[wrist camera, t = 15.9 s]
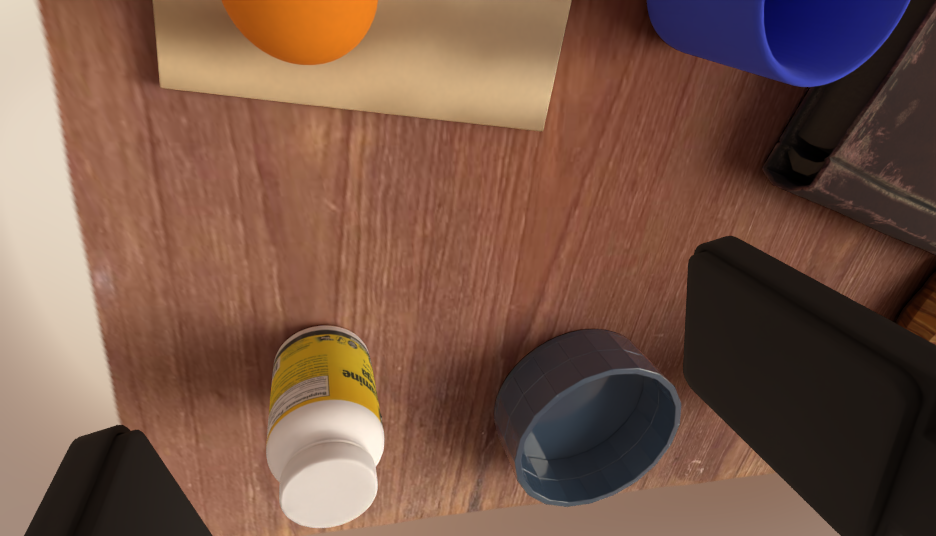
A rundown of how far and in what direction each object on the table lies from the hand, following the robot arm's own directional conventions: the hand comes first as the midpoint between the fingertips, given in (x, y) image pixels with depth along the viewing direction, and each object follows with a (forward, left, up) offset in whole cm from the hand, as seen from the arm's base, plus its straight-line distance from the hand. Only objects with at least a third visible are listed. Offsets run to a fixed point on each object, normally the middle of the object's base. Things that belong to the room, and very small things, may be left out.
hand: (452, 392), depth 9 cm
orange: (-1, +7, -19) cm, 20 cm away
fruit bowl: (+12, -26, -23) cm, 36 cm away
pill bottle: (-6, -15, -23) cm, 28 cm away
